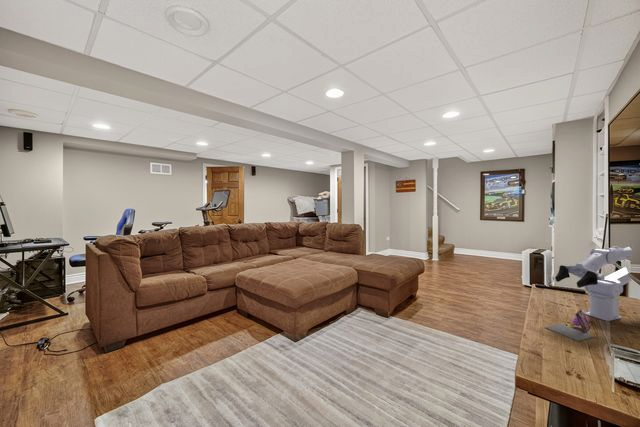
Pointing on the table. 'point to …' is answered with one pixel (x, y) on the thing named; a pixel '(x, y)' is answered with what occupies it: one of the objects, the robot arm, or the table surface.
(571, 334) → the mat
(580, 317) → the purple monster photo frame
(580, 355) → the table surface
